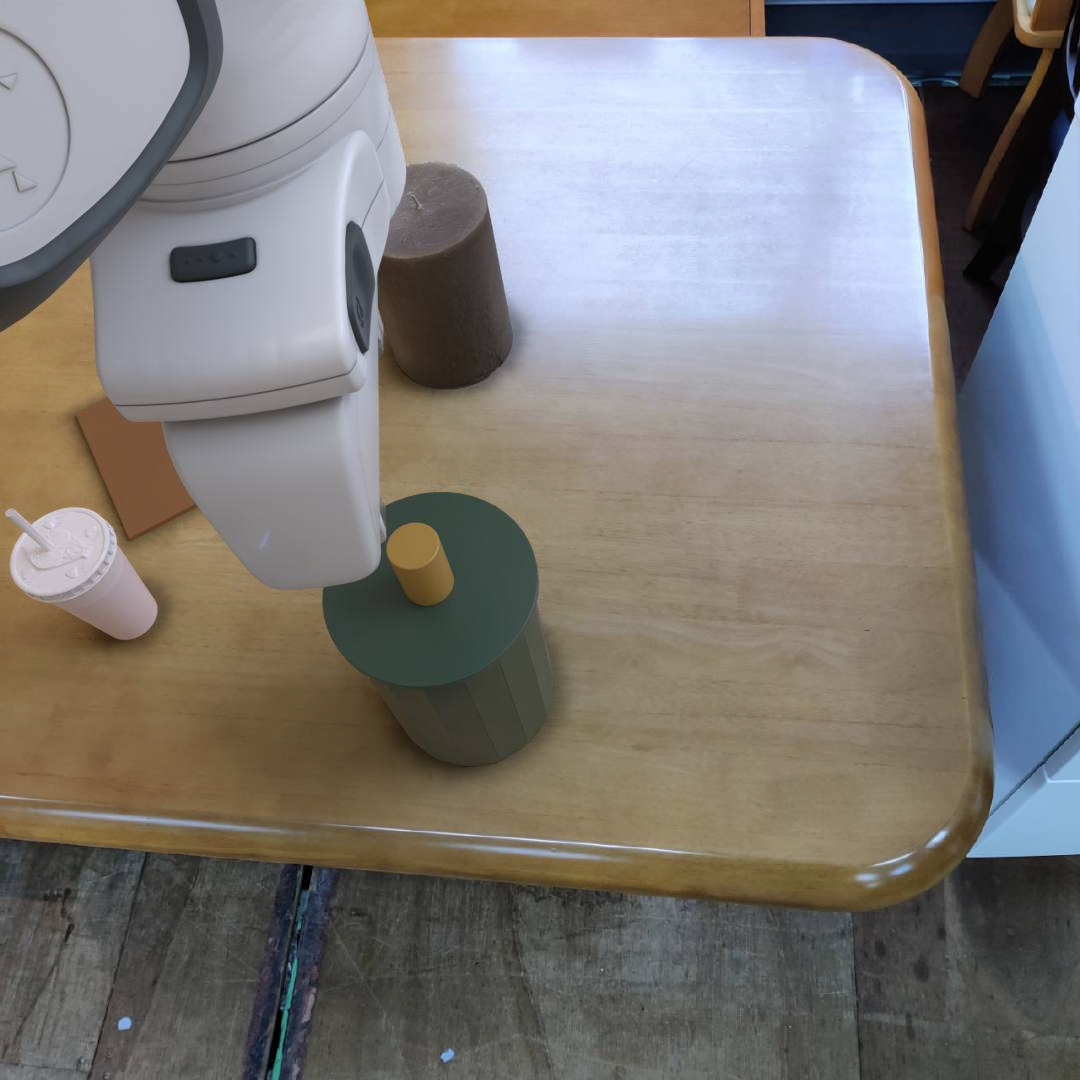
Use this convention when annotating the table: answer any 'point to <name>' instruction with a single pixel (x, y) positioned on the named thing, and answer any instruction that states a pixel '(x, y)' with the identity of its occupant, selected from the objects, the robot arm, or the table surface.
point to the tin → (481, 707)
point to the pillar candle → (443, 281)
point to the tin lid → (437, 594)
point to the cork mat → (135, 468)
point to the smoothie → (81, 571)
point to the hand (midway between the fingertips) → (365, 433)
